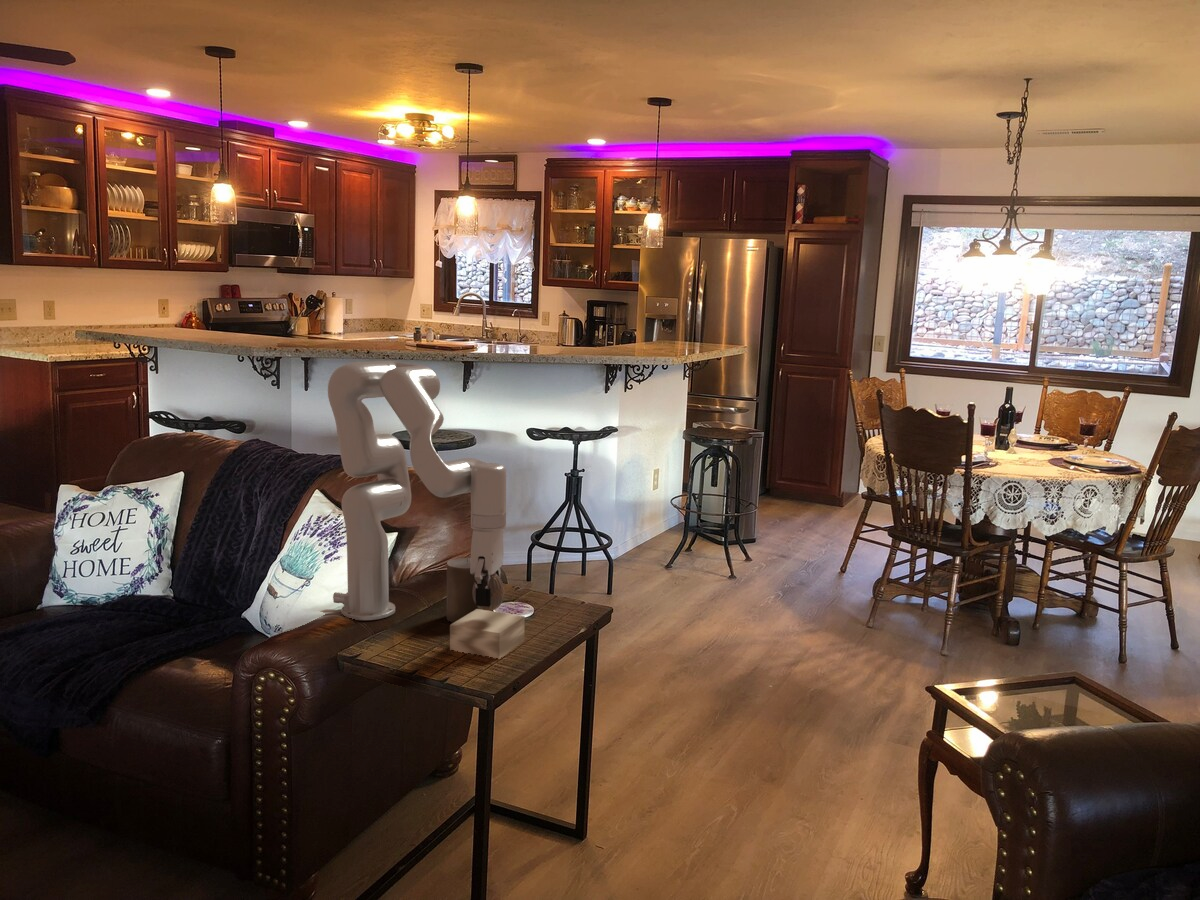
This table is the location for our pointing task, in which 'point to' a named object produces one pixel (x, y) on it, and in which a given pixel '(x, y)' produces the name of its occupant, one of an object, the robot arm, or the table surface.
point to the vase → (492, 592)
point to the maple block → (487, 633)
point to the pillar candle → (459, 589)
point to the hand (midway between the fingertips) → (488, 599)
